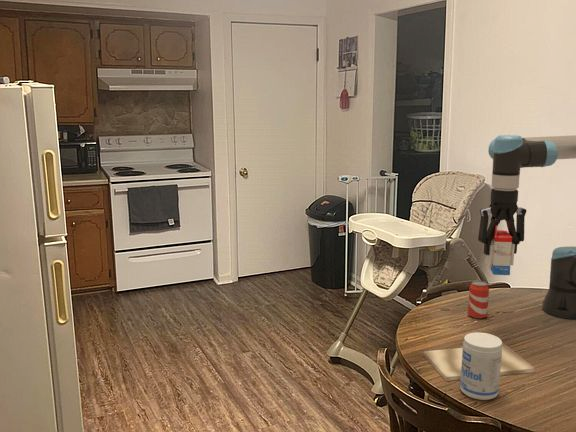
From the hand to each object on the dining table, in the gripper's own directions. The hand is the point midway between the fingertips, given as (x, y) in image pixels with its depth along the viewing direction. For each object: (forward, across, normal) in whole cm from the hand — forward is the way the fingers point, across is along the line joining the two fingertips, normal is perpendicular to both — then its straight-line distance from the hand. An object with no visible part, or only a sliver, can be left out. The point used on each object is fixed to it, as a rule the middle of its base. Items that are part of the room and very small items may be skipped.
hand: (499, 264), depth 174 cm
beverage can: (+25, -5, -21) cm, 33 cm away
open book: (+25, +11, +12) cm, 30 cm away
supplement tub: (+26, +18, +27) cm, 42 cm away
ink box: (+2, 0, 0) cm, 2 cm away
